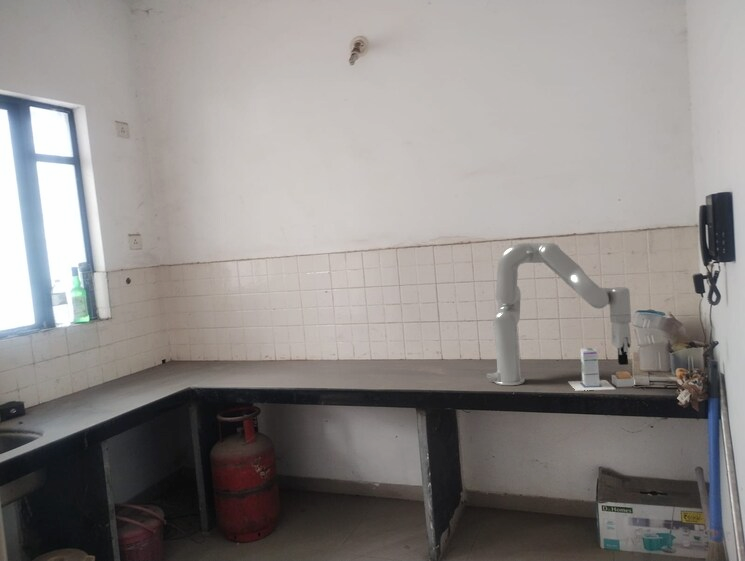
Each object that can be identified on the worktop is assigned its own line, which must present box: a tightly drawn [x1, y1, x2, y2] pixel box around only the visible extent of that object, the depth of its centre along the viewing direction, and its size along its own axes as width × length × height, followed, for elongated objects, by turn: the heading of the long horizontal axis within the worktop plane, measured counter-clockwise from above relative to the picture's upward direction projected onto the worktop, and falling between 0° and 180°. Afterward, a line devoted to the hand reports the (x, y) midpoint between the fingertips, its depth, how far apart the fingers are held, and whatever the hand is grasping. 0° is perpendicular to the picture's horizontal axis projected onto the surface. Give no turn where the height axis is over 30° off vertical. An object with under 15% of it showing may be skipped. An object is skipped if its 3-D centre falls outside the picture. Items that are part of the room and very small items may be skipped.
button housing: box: [611, 374, 635, 388], centre depth 223 cm, size 7×7×3 cm
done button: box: [615, 370, 632, 379], centre depth 222 cm, size 4×4×2 cm
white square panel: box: [567, 379, 617, 392], centre depth 224 cm, size 15×14×1 cm
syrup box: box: [579, 347, 600, 387], centre depth 224 cm, size 6×6×14 cm
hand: (623, 364), depth 222 cm, fingers closed
